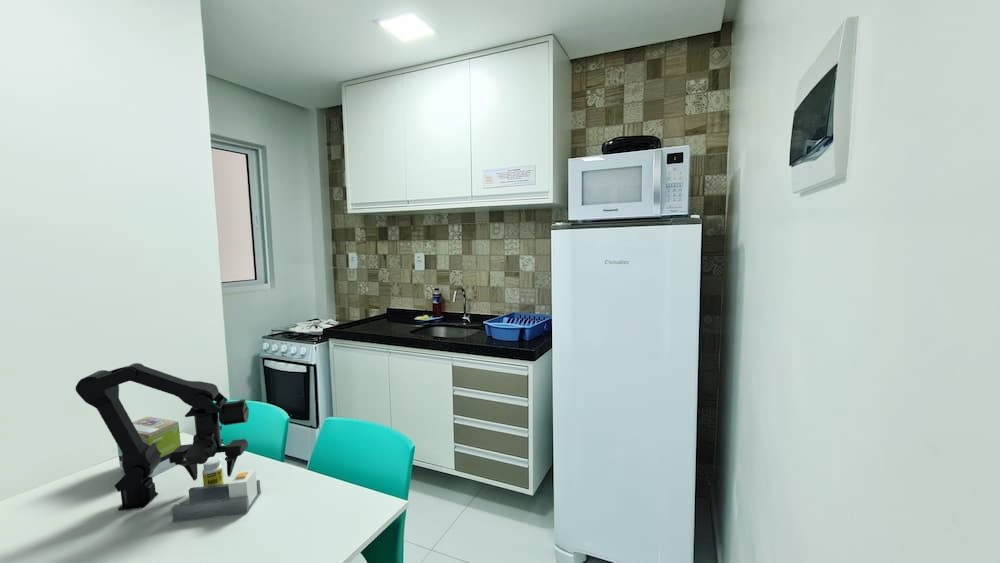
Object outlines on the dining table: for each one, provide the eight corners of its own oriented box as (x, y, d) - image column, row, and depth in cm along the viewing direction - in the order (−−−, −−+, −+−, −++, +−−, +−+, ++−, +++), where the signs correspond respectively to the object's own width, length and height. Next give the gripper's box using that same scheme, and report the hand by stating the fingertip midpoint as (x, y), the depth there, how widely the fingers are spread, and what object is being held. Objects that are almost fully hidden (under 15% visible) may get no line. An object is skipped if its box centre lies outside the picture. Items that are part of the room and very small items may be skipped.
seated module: (230, 508, 111) (227, 481, 110) (240, 494, 117) (238, 469, 116) (248, 505, 112) (246, 479, 111) (257, 492, 118) (255, 467, 117)
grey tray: (173, 522, 108) (171, 507, 107) (192, 501, 116) (191, 487, 116) (247, 512, 111) (246, 498, 110) (260, 492, 119) (259, 479, 119)
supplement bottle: (207, 495, 119) (204, 467, 118) (201, 489, 122) (198, 462, 121) (226, 487, 123) (223, 460, 122) (220, 481, 126) (217, 455, 125)
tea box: (118, 472, 133) (113, 428, 132) (152, 456, 143) (148, 415, 141) (151, 478, 129) (146, 433, 127) (184, 462, 138) (179, 419, 137)
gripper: (153, 444, 111) (159, 498, 113) (229, 437, 114) (234, 489, 116) (178, 426, 122) (183, 475, 123) (246, 420, 125) (251, 468, 127)
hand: (212, 477), depth 122 cm, fingers open, 9 cm apart
